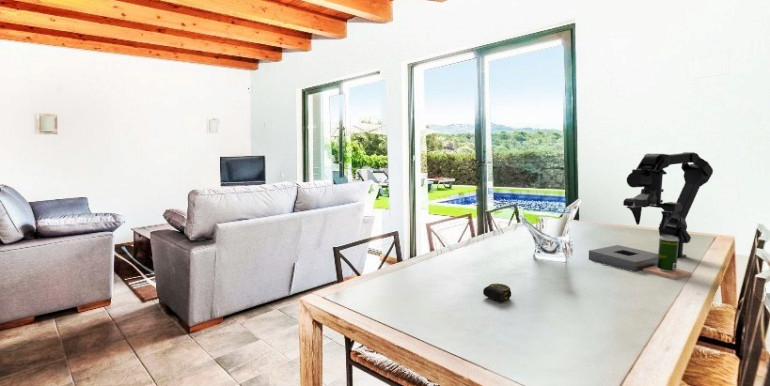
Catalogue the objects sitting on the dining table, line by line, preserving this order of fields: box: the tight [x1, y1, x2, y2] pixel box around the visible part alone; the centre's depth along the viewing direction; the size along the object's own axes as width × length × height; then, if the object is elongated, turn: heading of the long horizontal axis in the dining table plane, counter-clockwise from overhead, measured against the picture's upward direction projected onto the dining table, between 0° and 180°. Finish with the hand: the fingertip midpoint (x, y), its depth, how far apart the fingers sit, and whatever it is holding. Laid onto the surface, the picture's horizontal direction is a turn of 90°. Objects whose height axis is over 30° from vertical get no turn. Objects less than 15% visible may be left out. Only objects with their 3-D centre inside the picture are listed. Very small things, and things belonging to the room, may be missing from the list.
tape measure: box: [482, 283, 512, 303], centre depth 115 cm, size 7×7×4 cm
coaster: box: [642, 265, 692, 281], centre depth 136 cm, size 10×10×1 cm
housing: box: [588, 244, 658, 273], centre depth 150 cm, size 18×18×4 cm
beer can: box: [657, 235, 679, 272], centre depth 136 cm, size 5×5×12 cm
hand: (649, 226), depth 152 cm, fingers open, 9 cm apart
